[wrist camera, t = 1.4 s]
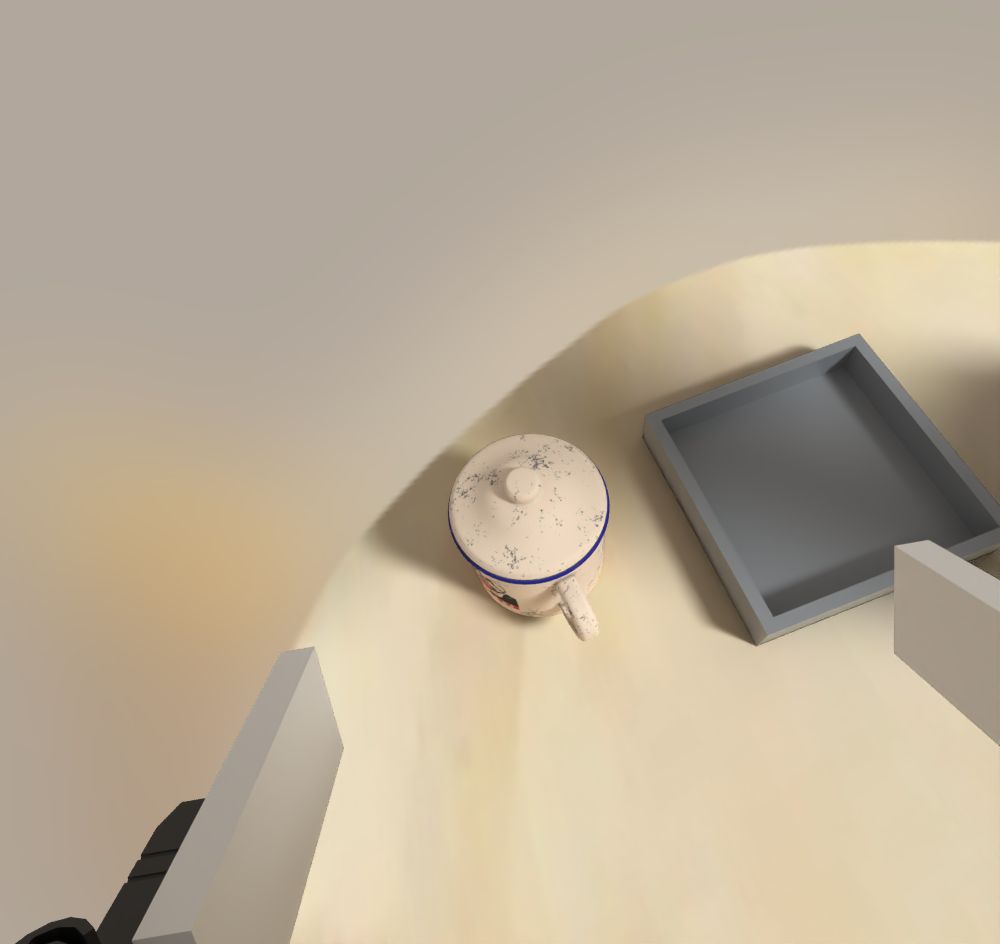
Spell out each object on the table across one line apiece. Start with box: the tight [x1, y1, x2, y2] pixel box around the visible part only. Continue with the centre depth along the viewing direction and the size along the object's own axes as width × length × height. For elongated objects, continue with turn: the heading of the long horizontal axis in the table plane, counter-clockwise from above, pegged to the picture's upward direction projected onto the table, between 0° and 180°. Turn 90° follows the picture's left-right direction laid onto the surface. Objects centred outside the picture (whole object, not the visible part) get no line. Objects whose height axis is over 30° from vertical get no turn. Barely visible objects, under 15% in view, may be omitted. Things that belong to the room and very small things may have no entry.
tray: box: [642, 334, 1000, 646], centre depth 42 cm, size 16×16×3 cm
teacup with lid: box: [448, 434, 609, 641], centre depth 38 cm, size 12×9×12 cm
